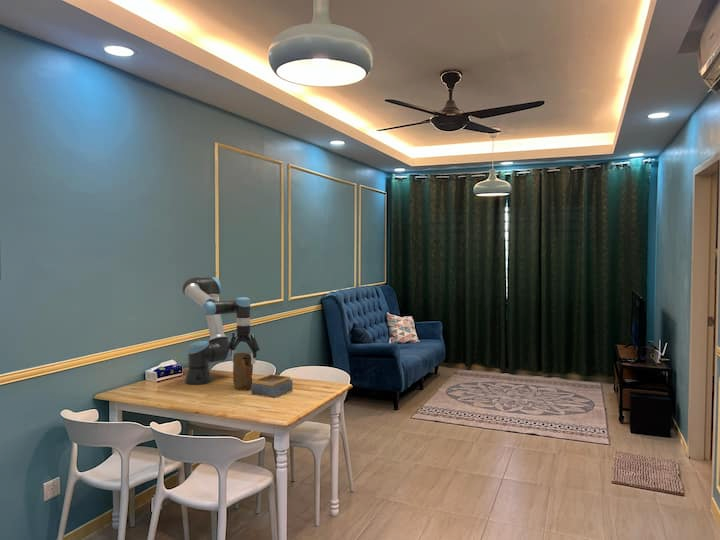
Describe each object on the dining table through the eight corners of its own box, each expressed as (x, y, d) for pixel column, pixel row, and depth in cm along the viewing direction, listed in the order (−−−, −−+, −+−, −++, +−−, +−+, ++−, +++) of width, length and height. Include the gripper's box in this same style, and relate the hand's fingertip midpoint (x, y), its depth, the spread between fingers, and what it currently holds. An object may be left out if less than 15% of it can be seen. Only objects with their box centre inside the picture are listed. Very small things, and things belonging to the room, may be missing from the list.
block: (231, 388, 301) (231, 353, 301) (242, 385, 307) (242, 351, 306) (244, 391, 295) (244, 355, 294) (254, 388, 301) (254, 353, 300)
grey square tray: (251, 393, 290) (251, 380, 290) (268, 387, 304) (268, 374, 304) (275, 397, 283) (275, 383, 282) (292, 390, 297) (292, 377, 297)
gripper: (221, 324, 302) (221, 361, 302) (257, 327, 291) (257, 365, 291) (230, 323, 308) (230, 359, 309) (265, 325, 297) (265, 363, 298)
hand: (243, 362), depth 300 cm, fingers open, 13 cm apart
